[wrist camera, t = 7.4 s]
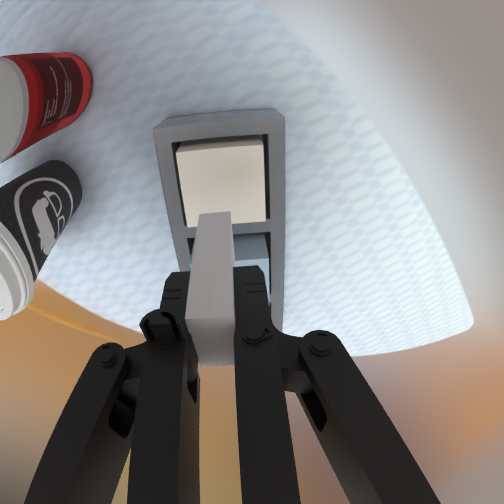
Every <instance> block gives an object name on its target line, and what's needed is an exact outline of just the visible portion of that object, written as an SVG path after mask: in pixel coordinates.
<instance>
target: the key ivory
mask: <svg viewBox="0 0 504 504" xmlns="http://www.w3.org/2000/svg"><path fill="white" fill-rule="evenodd" d="M176 158H177V165H178V171H179V178H180V185H181V191H182V197H183V203H184V209H185V215H186V221H187V226H188V228H189V227H197V225H198V219H199V214H205V213H216V212H228V211H231V222H232V224H237V223H250V222H264V221H266V213H265V179H264V150H263V143H262V141H261V138H260V136H259V134H257V135H241V136H227V137H216V138H205V139H196V140H187V141H183V142H182V143H181V145H180V147H179V148H178V150H177V152H176Z"/></svg>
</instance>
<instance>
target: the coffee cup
mask: <svg viewBox="0 0 504 504" xmlns="http://www.w3.org/2000/svg"><path fill="white" fill-rule="evenodd" d="M81 195H82V191H81V185H80V181H79V179H78V177H77V175H76V174H75V172H74V171H73V170H72V169H71V168H70V167H69V166H68V165H67V164H65V163H63V162H60V161H56V160H52V161H47V162H45V163H43V164H41V165H39V166H37V167H35V168H33V169H32V170H30V171H28V172H26V173H24V174H23V175H21V176H19V177H17V178H16V179H14V180H12V181H10V182H9V183H7V184H5V185H4V186H2V187H1V188H0V320H5V319H7V318H9V317H10V316H11V315H14V314H17V313H19V312H20V311H22V310H23V309H24V308H25V307H26V306H28V305H29V303H30V302H31V300H32V298H33V293H34V282H35V280H36V278H37V276H38V274H39V272H40V270H41V268H42V266H43V264H44V262H45V260H46V259H47V257H48V255H49V253H50V251H51V250H52V248H53V246H54V244H55V243H56V241H57V239H58V238H59V236H60V234H61V233H62V231H63V230H64V228H65V226H66V225H67V223H68V222H69V220H70V218H71V217H72V215H73V214H74V212H75V211H76V209H77V208H78V206H79V204H80V201H81Z"/></svg>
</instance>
